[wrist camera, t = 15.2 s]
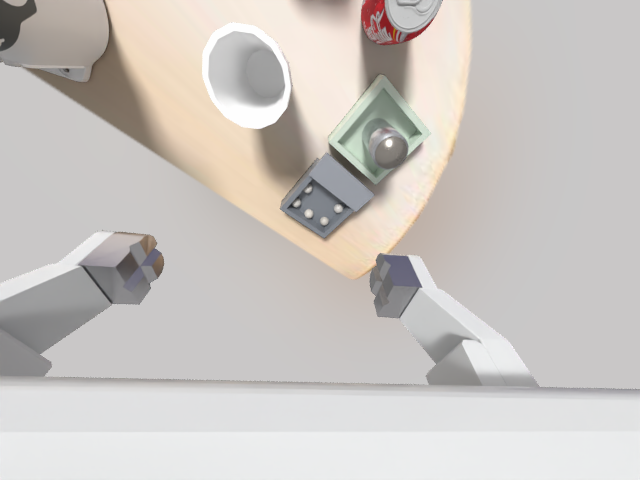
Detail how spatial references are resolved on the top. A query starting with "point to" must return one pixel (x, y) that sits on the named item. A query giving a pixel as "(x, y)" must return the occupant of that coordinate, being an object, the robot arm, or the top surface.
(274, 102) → the foam cup
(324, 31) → the top surface
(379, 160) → the salt shaker
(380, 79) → the green bin
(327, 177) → the bin
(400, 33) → the soda can
